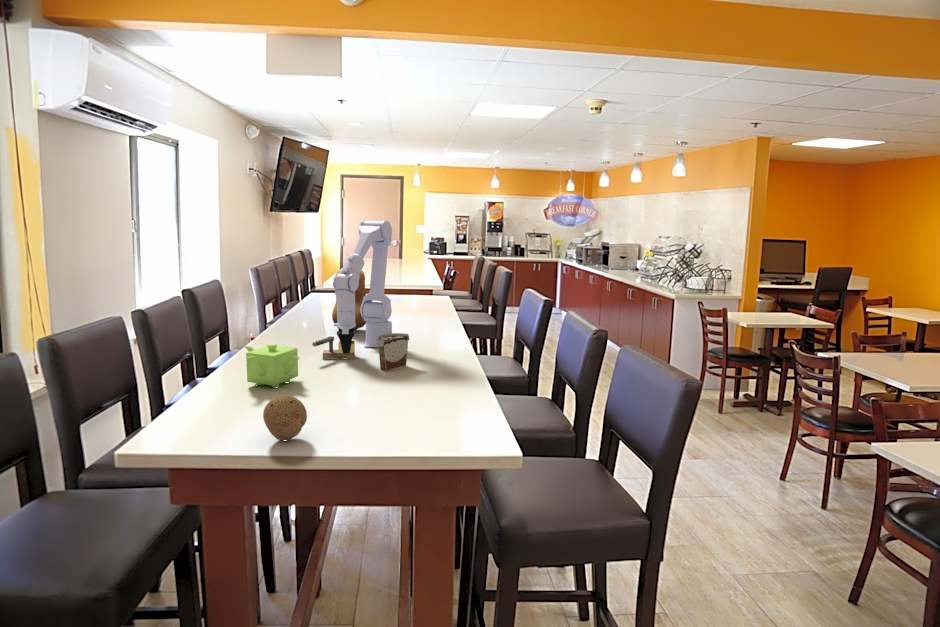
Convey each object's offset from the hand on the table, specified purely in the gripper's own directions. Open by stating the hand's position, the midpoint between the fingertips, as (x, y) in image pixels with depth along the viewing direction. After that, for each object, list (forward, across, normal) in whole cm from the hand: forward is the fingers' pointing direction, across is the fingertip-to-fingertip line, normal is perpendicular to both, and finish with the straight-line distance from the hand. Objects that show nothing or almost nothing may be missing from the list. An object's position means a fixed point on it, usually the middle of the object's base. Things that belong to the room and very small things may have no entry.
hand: (346, 351), depth 208 cm
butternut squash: (+2, -42, 0) cm, 42 cm away
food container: (+2, +13, +14) cm, 19 cm away
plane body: (+2, 0, -2) cm, 3 cm away
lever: (-3, +4, -7) cm, 9 cm away
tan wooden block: (0, 0, 0) cm, 0 cm away
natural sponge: (+2, +72, -10) cm, 73 cm away
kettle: (+2, +29, -20) cm, 35 cm away
